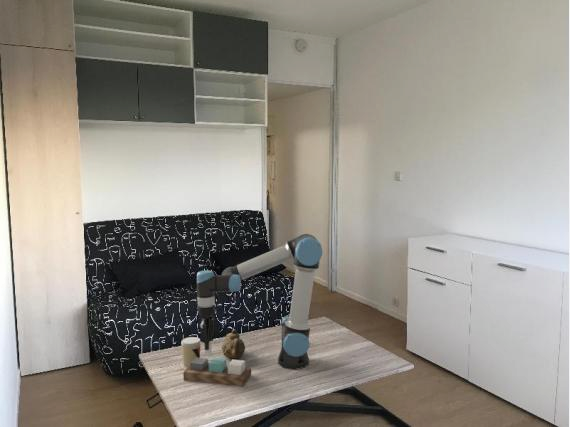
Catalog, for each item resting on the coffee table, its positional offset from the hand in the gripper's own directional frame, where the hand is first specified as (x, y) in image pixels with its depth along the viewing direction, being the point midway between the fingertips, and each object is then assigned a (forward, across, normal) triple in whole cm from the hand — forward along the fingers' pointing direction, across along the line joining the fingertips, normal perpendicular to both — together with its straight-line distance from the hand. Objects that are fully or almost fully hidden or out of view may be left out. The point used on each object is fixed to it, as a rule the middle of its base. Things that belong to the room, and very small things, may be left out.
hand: (208, 355), depth 214 cm
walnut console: (+10, 0, +4) cm, 11 cm away
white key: (+7, 0, +13) cm, 15 cm away
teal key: (+7, 0, +4) cm, 8 cm away
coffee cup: (+10, -11, -14) cm, 20 cm away
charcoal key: (+8, 0, -5) cm, 9 cm away
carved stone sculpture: (+10, -22, +4) cm, 24 cm away
